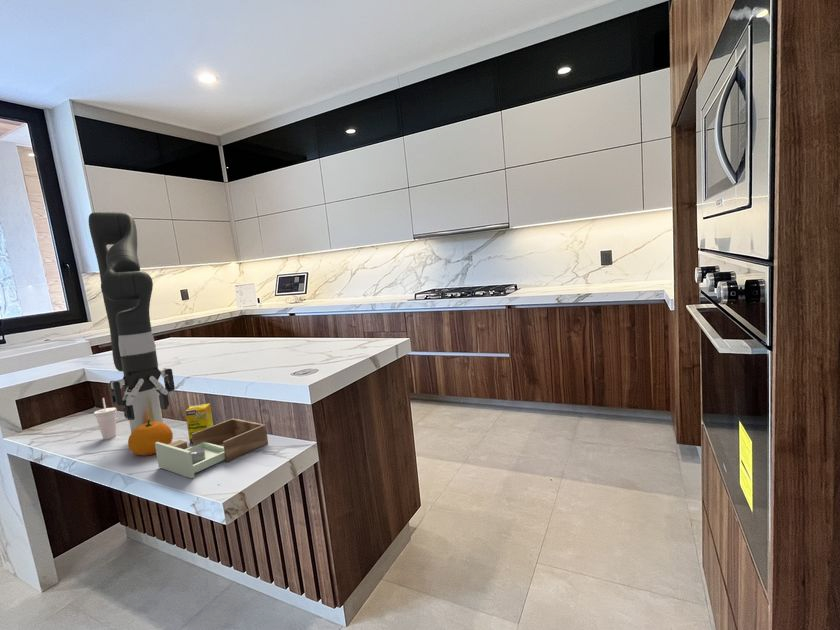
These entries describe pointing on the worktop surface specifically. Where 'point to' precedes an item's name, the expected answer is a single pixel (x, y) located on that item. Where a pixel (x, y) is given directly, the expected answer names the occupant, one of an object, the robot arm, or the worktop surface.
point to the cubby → (234, 437)
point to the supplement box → (198, 419)
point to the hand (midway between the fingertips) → (148, 414)
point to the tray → (187, 458)
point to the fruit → (149, 437)
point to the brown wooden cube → (179, 444)
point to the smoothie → (106, 421)
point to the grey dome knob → (197, 455)
